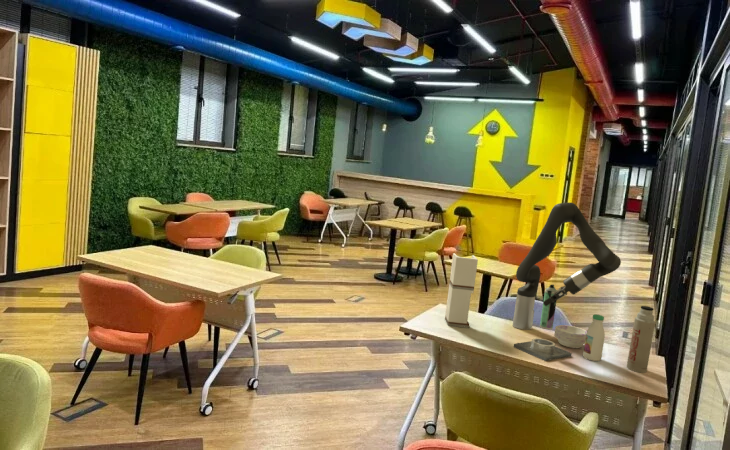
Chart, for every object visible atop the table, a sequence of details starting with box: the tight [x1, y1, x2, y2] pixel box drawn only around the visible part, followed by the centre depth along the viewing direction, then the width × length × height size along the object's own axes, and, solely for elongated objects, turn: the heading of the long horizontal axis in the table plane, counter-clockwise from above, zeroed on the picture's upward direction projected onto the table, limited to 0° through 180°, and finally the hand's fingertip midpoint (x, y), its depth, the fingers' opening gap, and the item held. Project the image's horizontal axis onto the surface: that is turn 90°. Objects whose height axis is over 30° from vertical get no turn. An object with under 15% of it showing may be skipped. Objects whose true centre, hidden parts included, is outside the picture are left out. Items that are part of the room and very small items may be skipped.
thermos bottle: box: [626, 305, 656, 374], centre depth 239 cm, size 8×8×28 cm
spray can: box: [539, 284, 558, 331], centre depth 249 cm, size 6×6×20 cm
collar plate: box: [513, 337, 573, 362], centre depth 251 cm, size 18×18×4 cm
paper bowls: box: [554, 324, 587, 349], centre depth 265 cm, size 15×15×8 cm
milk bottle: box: [582, 313, 606, 362], centre depth 248 cm, size 8×8×20 cm
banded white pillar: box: [444, 252, 479, 329], centre depth 280 cm, size 11×11×35 cm
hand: (545, 302), depth 249 cm, fingers closed on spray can, 5 cm apart
